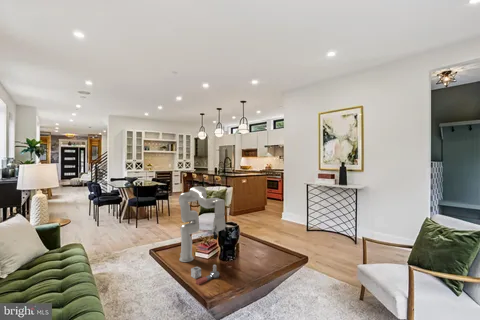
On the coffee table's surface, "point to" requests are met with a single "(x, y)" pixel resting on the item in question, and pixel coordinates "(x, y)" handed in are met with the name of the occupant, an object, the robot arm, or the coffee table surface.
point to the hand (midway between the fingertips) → (219, 237)
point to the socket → (195, 272)
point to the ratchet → (212, 275)
